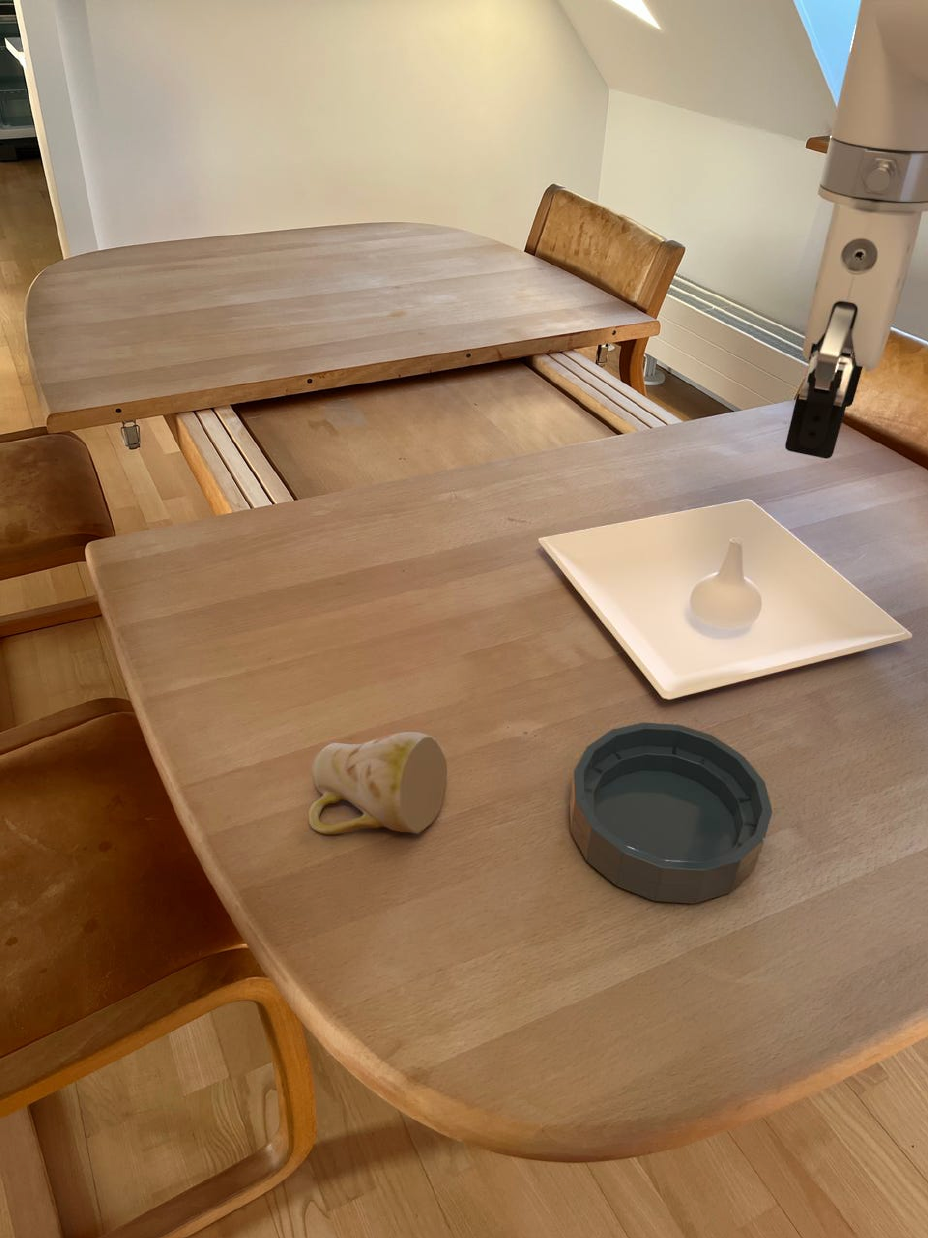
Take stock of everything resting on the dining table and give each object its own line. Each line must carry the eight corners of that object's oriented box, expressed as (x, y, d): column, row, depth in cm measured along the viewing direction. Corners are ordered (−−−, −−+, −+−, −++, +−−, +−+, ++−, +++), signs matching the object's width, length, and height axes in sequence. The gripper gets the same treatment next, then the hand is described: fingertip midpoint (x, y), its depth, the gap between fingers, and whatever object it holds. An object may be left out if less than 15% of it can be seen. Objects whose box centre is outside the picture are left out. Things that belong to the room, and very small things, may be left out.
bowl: (775, 796, 72) (787, 760, 69) (733, 937, 62) (746, 900, 60) (605, 737, 76) (610, 701, 74) (541, 860, 67) (545, 823, 64)
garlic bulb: (720, 645, 83) (738, 570, 78) (673, 607, 87) (688, 535, 82) (771, 624, 86) (792, 551, 81) (724, 589, 90) (740, 517, 85)
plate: (746, 512, 106) (750, 496, 104) (908, 652, 86) (916, 634, 85) (535, 553, 98) (536, 536, 97) (661, 716, 79) (665, 698, 77)
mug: (331, 751, 75) (392, 673, 69) (418, 838, 73) (487, 764, 68) (273, 796, 69) (335, 712, 63) (367, 891, 67) (438, 814, 62)
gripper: (940, 210, 51) (856, 488, 61) (958, 156, 64) (886, 394, 74) (799, 194, 54) (742, 463, 64) (843, 145, 66) (789, 377, 76)
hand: (819, 426), depth 69 cm, fingers open, 9 cm apart
